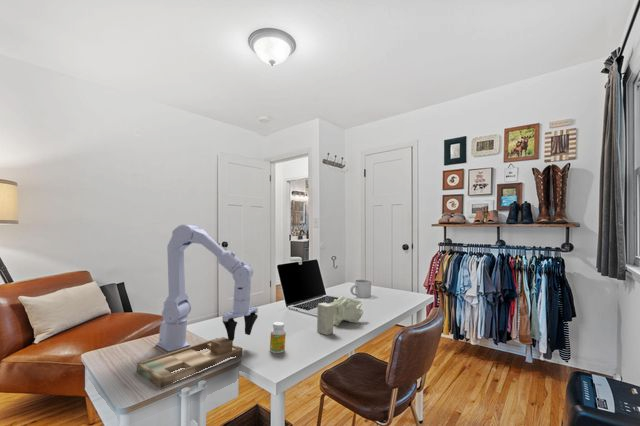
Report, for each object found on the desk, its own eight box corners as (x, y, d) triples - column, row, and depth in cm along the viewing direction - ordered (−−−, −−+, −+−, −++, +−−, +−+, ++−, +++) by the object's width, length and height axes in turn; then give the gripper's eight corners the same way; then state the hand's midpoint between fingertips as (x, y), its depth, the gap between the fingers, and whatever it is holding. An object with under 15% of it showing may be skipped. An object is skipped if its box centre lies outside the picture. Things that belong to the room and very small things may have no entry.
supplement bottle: (270, 354, 107) (272, 326, 108) (268, 348, 113) (270, 321, 113) (285, 353, 109) (287, 325, 109) (283, 347, 114) (284, 320, 115)
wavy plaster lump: (345, 332, 153) (350, 302, 161) (364, 333, 144) (368, 300, 152) (318, 322, 144) (325, 290, 152) (337, 322, 135) (343, 288, 143)
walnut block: (210, 351, 102) (211, 340, 102) (222, 347, 106) (223, 337, 106) (219, 355, 99) (220, 344, 99) (232, 351, 103) (232, 340, 103)
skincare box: (333, 333, 132) (334, 305, 133) (326, 335, 129) (327, 306, 129) (322, 329, 136) (324, 302, 137) (315, 331, 133) (317, 303, 134)
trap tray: (136, 372, 90) (137, 363, 90) (216, 345, 113) (217, 337, 113) (160, 388, 82) (161, 378, 82) (242, 355, 105) (242, 348, 105)
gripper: (232, 304, 101) (230, 345, 101) (264, 297, 113) (262, 334, 113) (219, 300, 105) (217, 340, 105) (251, 294, 117) (249, 330, 117)
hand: (239, 337), depth 109 cm, fingers open, 7 cm apart
